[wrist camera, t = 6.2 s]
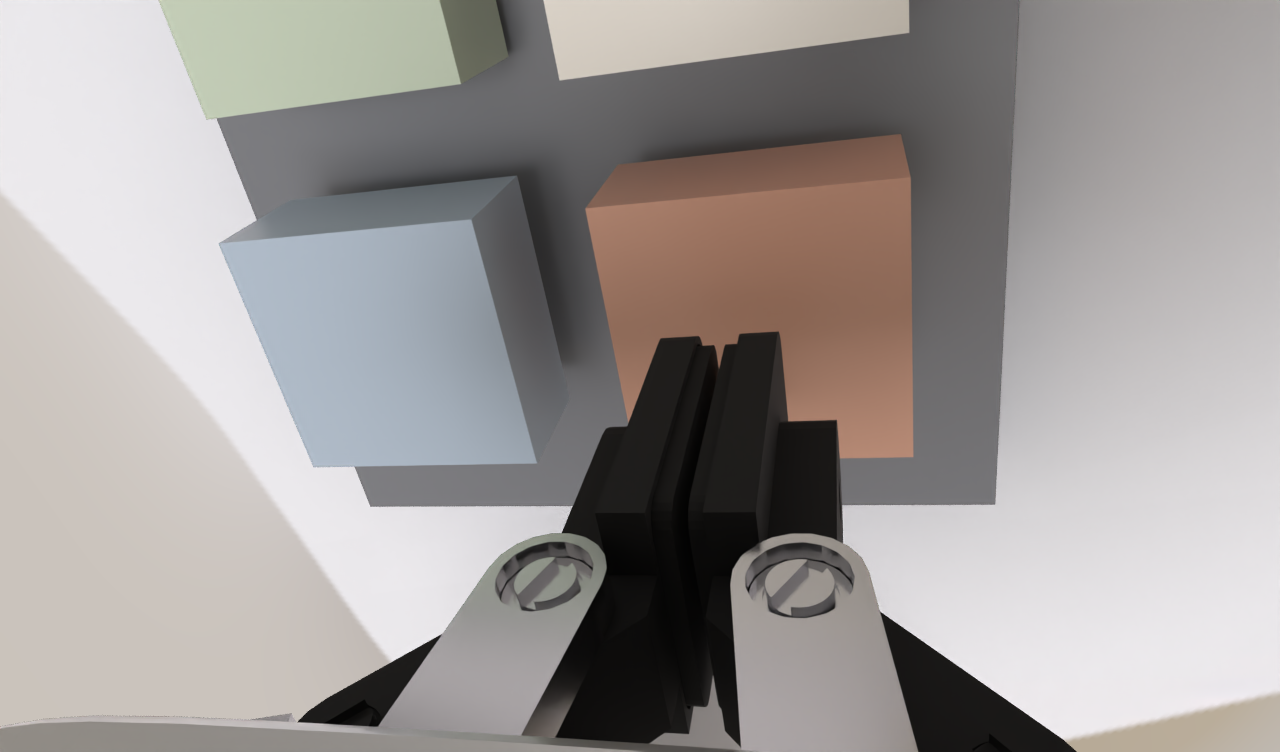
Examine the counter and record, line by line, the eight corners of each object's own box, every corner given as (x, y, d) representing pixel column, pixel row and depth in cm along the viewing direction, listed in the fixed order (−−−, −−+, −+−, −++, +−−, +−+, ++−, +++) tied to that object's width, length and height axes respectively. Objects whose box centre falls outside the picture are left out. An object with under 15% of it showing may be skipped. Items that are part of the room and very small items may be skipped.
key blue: (517, 175, 16) (471, 219, 14) (569, 398, 19) (536, 463, 17) (289, 200, 17) (218, 243, 15) (366, 406, 20) (313, 467, 18)
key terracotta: (900, 134, 14) (910, 177, 12) (904, 386, 17) (913, 456, 15) (617, 164, 16) (584, 208, 14) (658, 395, 18) (636, 461, 16)
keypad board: (1028, -764, 11) (1068, -899, 9) (982, 453, 21) (997, 515, 19) (77, -432, 15) (-38, -476, 13) (401, 463, 25) (364, 515, 23)
